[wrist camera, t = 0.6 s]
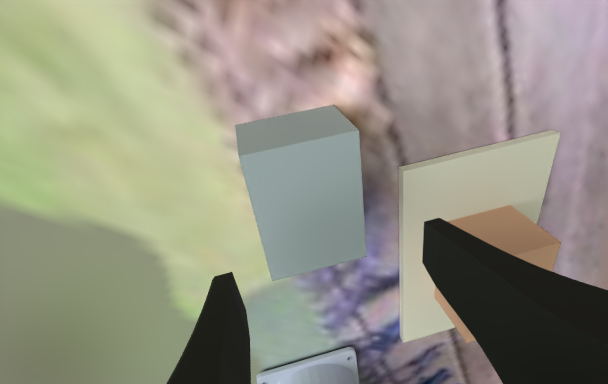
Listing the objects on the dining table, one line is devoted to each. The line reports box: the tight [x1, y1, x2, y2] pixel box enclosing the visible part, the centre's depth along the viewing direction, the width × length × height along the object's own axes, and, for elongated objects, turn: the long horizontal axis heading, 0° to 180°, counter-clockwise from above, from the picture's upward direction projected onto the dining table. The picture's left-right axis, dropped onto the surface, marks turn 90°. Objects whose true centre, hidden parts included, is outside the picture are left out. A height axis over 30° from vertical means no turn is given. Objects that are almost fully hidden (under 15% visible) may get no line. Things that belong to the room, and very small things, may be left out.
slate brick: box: [235, 105, 367, 281], centre depth 17 cm, size 7×5×4 cm
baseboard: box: [399, 130, 560, 343], centre depth 24 cm, size 16×10×1 cm, turn 9°
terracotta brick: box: [434, 205, 561, 343], centre depth 22 cm, size 7×5×4 cm
